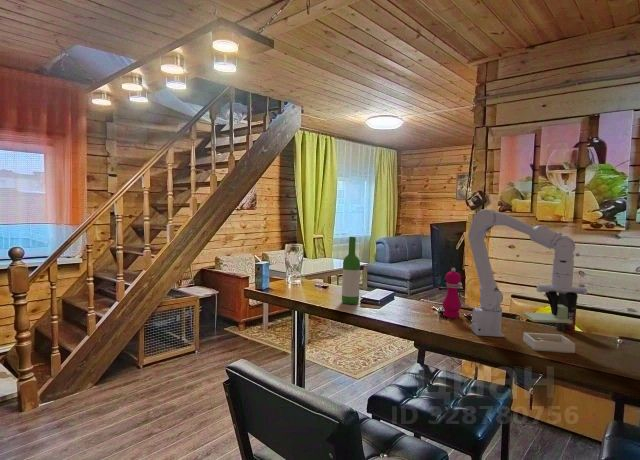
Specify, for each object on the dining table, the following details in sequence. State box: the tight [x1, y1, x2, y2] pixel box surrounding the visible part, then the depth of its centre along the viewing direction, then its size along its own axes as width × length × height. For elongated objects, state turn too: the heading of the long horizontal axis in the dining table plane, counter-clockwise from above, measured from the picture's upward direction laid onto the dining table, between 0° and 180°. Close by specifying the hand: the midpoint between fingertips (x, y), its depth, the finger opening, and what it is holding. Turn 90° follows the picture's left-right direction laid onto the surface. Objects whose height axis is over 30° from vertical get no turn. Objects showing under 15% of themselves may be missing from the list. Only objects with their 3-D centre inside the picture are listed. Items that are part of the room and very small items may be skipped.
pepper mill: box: [442, 267, 462, 319], centre depth 164 cm, size 7×7×20 cm
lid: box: [522, 305, 572, 323], centre depth 131 cm, size 12×9×4 cm
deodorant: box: [555, 293, 578, 334], centre depth 149 cm, size 6×6×15 cm
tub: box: [522, 332, 576, 354], centre depth 130 cm, size 12×9×3 cm
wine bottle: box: [341, 236, 361, 305], centre depth 182 cm, size 8×8×30 cm
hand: (559, 315), depth 131 cm, fingers closed on lid, 3 cm apart
